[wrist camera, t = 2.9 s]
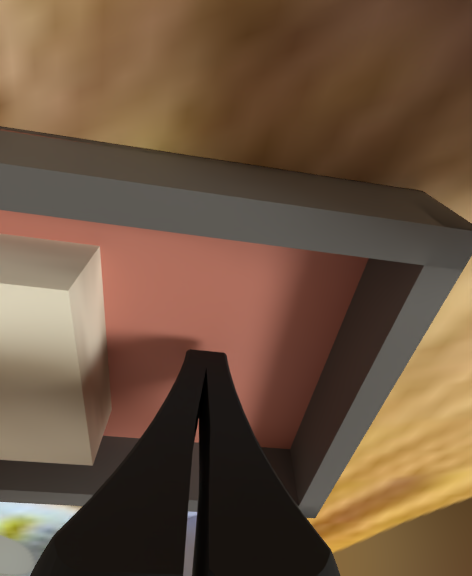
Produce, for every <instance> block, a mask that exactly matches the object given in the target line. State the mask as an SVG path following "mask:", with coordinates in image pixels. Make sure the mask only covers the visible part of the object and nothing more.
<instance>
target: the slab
mask: <svg viewBox="0 0 472 576" xmlns="http://www.w3.org/2000/svg"><path fill="white" fill-rule="evenodd" d="M111 410H112V407H111V393H110V379H109V366H108V352H107V338H106V325H105V311H104V297H103V284H102V270H101V256H100V246H96V245H88V244H80V243H72V242H64V241H56V240H48V239H39V238H31V237H23V236H15V235H7V234H0V460H13V461H28V462H44V463H60V464H75V465H91V466H93V463H94V460H95V457H96V455H97V452H98V449H99V446H100V443H101V440H102V437H103V434H104V431H105V428H106V425H107V422H108V419H109V416H110V413H111Z"/></svg>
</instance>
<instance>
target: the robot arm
mask: <svg viewBox="0 0 472 576" xmlns="http://www.w3.org/2000/svg"><path fill="white" fill-rule="evenodd" d="M198 419H199V495H198V507H197V512H188V504H189V491H190V478H191V466H192V454H193V446H194V441H195V436H196V430H197V425H198ZM30 576H340V573H339V571H338V567H337V564H336V562H335V559H334V556H333V554H332V551H331V549H330V548H329V547H328V545H327V544H326V543H325V542H324V540H323V539H322V538H321V537H320V535H319V534H318V533H317V532H316V530H315V529H314V528H313V526H312V525H311V524H310V522H309V521H308V520H307V518H306V517H305V516H304V514H303V513H302V512H301V510H300V509H299V507H298V506H297V505H296V503H295V502H294V500H293V499H292V497H291V496H290V494H289V493H288V491H287V490H286V488H285V487H284V485H283V484H282V482H281V480H280V479H279V477H278V476H277V474H276V473H275V471H274V469H273V468H272V466H271V464H270V463H269V461H268V459H267V457H266V456H265V454H264V452H263V450H262V448H261V446H260V444H259V443H258V441H257V439H256V437H255V435H254V433H253V430H252V428H251V426H250V424H249V422H248V419H247V417H246V415H245V413H244V410H243V408H242V405H241V403H240V400H239V397H238V395H237V392H236V389H235V386H234V383H233V380H232V376H231V373H230V369H229V365H228V360H227V355H226V354H225V353H223V352H213V351H203V350H192V349H190V350H188V351H186V355H185V359H184V362H183V365H182V367H181V370H180V372H179V374H178V376H177V378H176V380H175V382H174V384H173V386H172V388H171V390H170V392H169V394H168V396H167V397H166V399H165V401H164V403H163V404H162V406H161V407H160V409H159V411H158V412H157V414H156V416H155V417H154V419H153V420H152V422H151V423H150V425H149V426H148V428H147V429H146V431H145V432H144V434H143V435H142V436H141V438H140V439H139V440H138V442H137V443H136V445H135V446H134V447H133V448H132V450H131V451H130V452H129V454H128V455H127V456H126V457H125V459H124V460H123V461H122V463H121V464H120V465H119V466H118V467H117V469H116V470H115V471H114V472H113V473H112V475H111V476H110V477H109V478H108V479H107V480H106V481H105V482H104V484H103V485H102V486H101V487H100V488H99V489H98V490H97V491H96V493H95V494H94V495H93V496H92V497H91V498H90V499H89V500H88V501H87V502H86V503H85V505H84V506H83V507H82V508H81V509H80V510H79V511H78V512H77V513H76V514H75V515H74V516H73V517H72V518H71V519H70V520H69V521H68V522H67V523H66V524H65V525H64V526H63V527H62V528H61V529H60V530H59V531H58V532H57V533H56V534H55V535H54V536H53V537H52V539H51V541H50V542H49V544H48V545H47V547H46V548H45V550H44V552H43V553H42V555H41V557H40V558H39V560H38V562H37V564H36V565H35V567H34V569H33V571H32V573H31V575H30Z"/></svg>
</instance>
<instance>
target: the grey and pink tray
mask: <svg viewBox="0 0 472 576" xmlns="http://www.w3.org/2000/svg"><path fill="white" fill-rule="evenodd" d="M0 234H7V235H15V236H23V237H31V238H39V239H48V240H56V241H64V242H72V243H80V244H88V245H96V246H100V256H101V270H102V284H103V297H104V311H105V325H106V338H107V352H108V366H109V379H110V393H111V407H112V410H111V413H110V416H109V419H108V422H107V425H106V428H105V431H104V434H103V437H102V440H101V443H100V446H99V449H98V452H97V455H96V457H95V460H94V463H93V466H91V465H75V464H60V463H44V462H28V461H13V460H0V502H16V503H35V504H54V505H73V506H84V505H85V503H86V502H87V501H88V500H89V499H90V498H91V497H92V496H93V495H94V494H95V493H96V491H97V490H98V489H99V488H100V487H101V486H102V485H103V484H104V482H105V481H106V480H107V479H108V478H109V477H110V476H111V475H112V473H113V472H114V471H115V470H116V469H117V467H118V466H119V465H120V464H121V463H122V461H123V460H124V459H125V457H126V456H127V455H128V454H129V452H130V451H131V450H132V448H133V447H134V446H135V445H136V443H137V442H138V440H139V439H140V438H141V436H142V435H143V434H144V432H145V431H146V429H147V428H148V426H149V425H150V423H151V422H152V420H153V419H154V417H155V416H156V414H157V412H158V411H159V409H160V407H161V406H162V404H163V403H164V401H165V399H166V397H167V396H168V394H169V392H170V390H171V388H172V386H173V384H174V382H175V380H176V378H177V376H178V374H179V372H180V370H181V367H182V365H183V362H184V359H185V355H186V351H188V350H190V349H192V350H203V351H213V352H223V353H225V354H226V355H227V360H228V365H229V369H230V373H231V376H232V380H233V383H234V386H235V389H236V392H237V395H238V397H239V400H240V403H241V405H242V408H243V410H244V413H245V415H246V417H247V419H248V422H249V424H250V426H251V428H252V430H253V433H254V435H255V437H256V439H257V441H258V443H259V444H260V446H261V448H262V450H263V452H264V454H265V456H266V457H267V459H268V461H269V463H270V464H271V466H272V468H273V469H274V471H275V473H276V474H277V476H278V477H279V479H280V480H281V482H282V484H283V485H284V487H285V488H286V490H287V491H288V493H289V494H290V496H291V497H292V499H293V500H294V502H295V503H296V505H297V506H298V507H299V509H300V510H301V512H302V513H303V514H304V516H305V517H306V518H316V516H317V514H318V513H319V511H320V509H321V507H322V506H323V504H324V502H325V501H326V499H327V497H328V496H329V494H330V492H331V491H332V489H333V487H334V486H335V484H336V482H337V481H338V479H339V477H340V476H341V474H342V472H343V471H344V469H345V467H346V466H347V464H348V462H349V461H350V459H351V457H352V455H353V454H354V452H355V450H356V449H357V447H358V445H359V444H360V442H361V440H362V439H363V437H364V435H365V434H366V432H367V430H368V429H369V427H370V425H371V424H372V422H373V420H374V419H375V417H376V415H377V414H378V412H379V410H380V408H381V407H382V405H383V403H384V402H385V400H386V398H387V397H388V395H389V393H390V392H391V390H392V388H393V387H394V385H395V383H396V382H397V380H398V378H399V377H400V375H401V373H402V372H403V370H404V368H405V367H406V365H407V363H408V362H409V360H410V358H411V356H412V355H413V353H414V351H415V350H416V348H417V346H418V345H419V343H420V341H421V340H422V338H423V336H424V335H425V333H426V331H427V330H428V328H429V326H430V325H431V323H432V321H433V320H434V318H435V316H436V315H437V313H438V311H439V310H440V308H441V306H442V304H443V303H444V301H445V299H446V298H447V296H448V294H449V293H450V291H451V289H452V288H453V286H454V284H455V283H456V281H457V279H458V278H459V276H460V274H461V273H462V271H463V269H464V268H465V266H466V264H467V263H468V261H469V259H470V258H471V256H472V224H471V223H470V222H468V221H467V220H465V219H464V218H462V217H461V216H459V215H458V214H456V213H455V212H453V211H452V210H450V209H449V208H447V207H446V206H444V205H443V204H441V203H440V202H438V201H437V200H435V199H434V198H432V197H431V196H429V195H428V194H426V193H425V192H423V191H418V190H412V189H405V188H399V187H392V186H386V185H379V184H373V183H366V182H360V181H353V180H347V179H340V178H334V177H327V176H320V175H314V174H307V173H301V172H294V171H288V170H281V169H275V168H268V167H262V166H255V165H249V164H242V163H236V162H229V161H223V160H216V159H210V158H203V157H197V156H190V155H184V154H177V153H170V152H164V151H157V150H151V149H144V148H138V147H131V146H125V145H118V144H112V143H105V142H99V141H92V140H86V139H79V138H73V137H66V136H60V135H53V134H47V133H40V132H34V131H27V130H20V129H14V128H7V127H1V126H0ZM198 495H199V419H198V425H197V430H196V436H195V441H194V446H193V454H192V466H191V478H190V491H189V504H188V512H197V507H198Z"/></svg>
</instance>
